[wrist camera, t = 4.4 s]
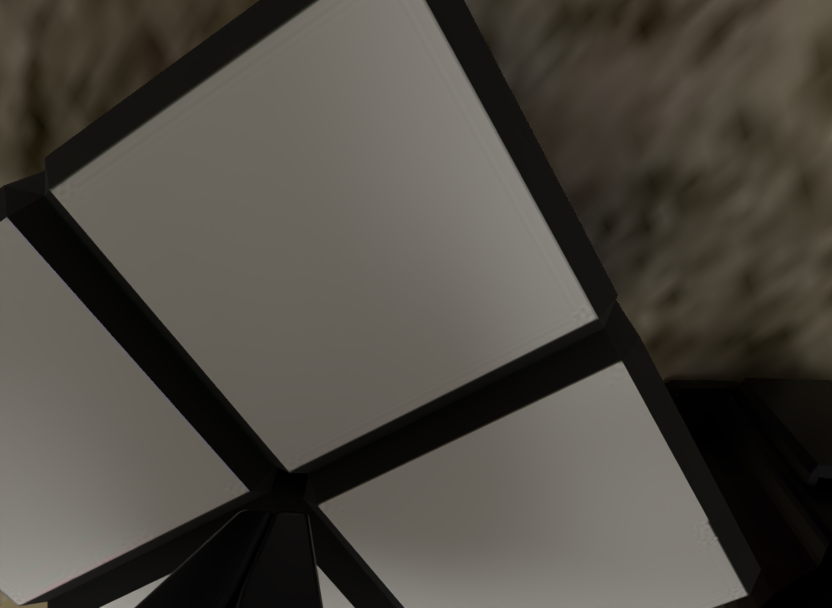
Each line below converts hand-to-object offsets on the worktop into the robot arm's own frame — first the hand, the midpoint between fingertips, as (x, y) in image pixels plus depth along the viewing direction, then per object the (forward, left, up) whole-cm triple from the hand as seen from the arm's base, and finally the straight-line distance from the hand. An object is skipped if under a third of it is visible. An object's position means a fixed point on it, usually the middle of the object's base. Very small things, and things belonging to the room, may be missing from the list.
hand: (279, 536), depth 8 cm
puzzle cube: (0, 0, -11) cm, 11 cm away
